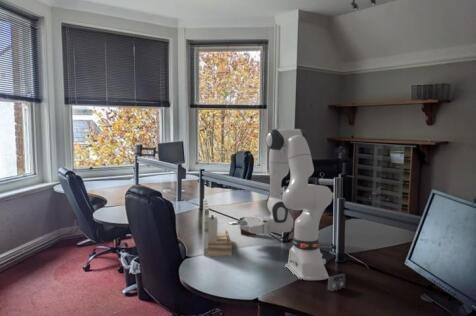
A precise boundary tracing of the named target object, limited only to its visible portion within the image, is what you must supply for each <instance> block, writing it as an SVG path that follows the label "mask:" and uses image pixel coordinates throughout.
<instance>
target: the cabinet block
mask: <svg viewBox="0 0 476 316" xmlns="http://www.w3.org/2000/svg"><path fill="white" fill-rule="evenodd" d="M217 234H218V217H217V216H216V217H215V216H214V215H213V214H211V216H209V229H208V242H217Z"/></svg>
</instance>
